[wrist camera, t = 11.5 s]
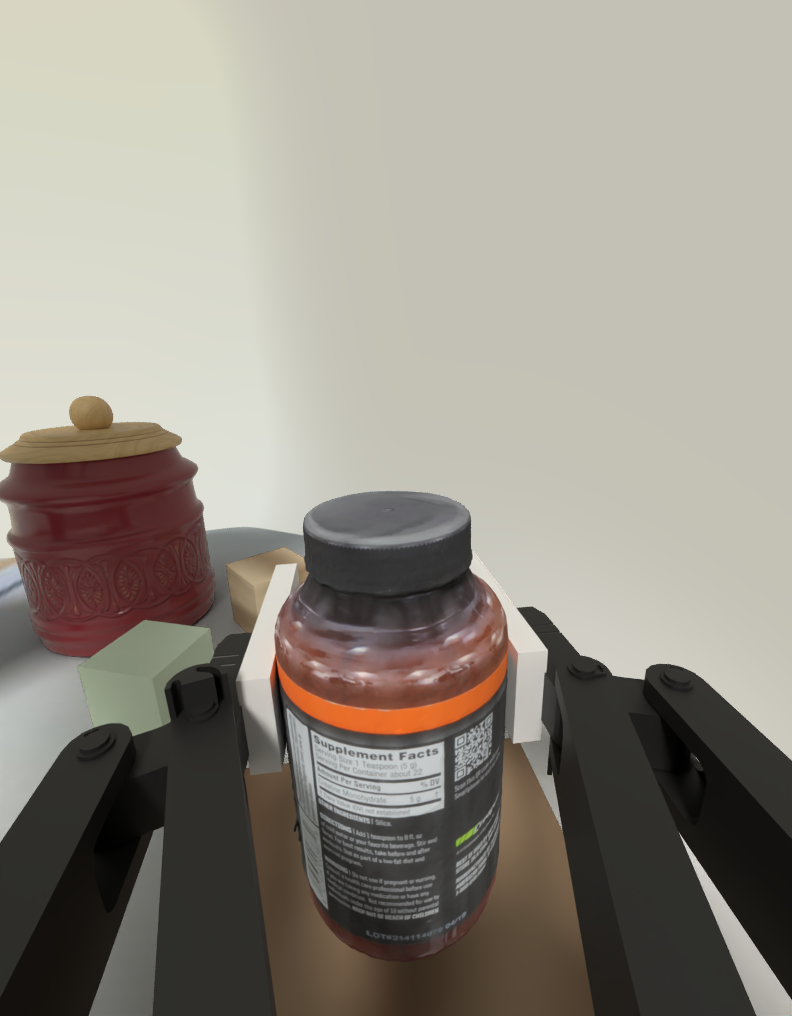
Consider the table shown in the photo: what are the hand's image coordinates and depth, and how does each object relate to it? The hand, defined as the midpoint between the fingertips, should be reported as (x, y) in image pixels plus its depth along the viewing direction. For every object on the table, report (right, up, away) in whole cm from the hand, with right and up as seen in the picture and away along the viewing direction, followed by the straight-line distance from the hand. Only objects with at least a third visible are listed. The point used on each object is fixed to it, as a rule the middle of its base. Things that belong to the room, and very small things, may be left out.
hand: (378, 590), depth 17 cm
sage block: (-13, -9, +9) cm, 18 cm away
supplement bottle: (+1, -8, -3) cm, 8 cm away
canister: (-21, -6, +20) cm, 30 cm away
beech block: (-9, -6, +19) cm, 21 cm away
